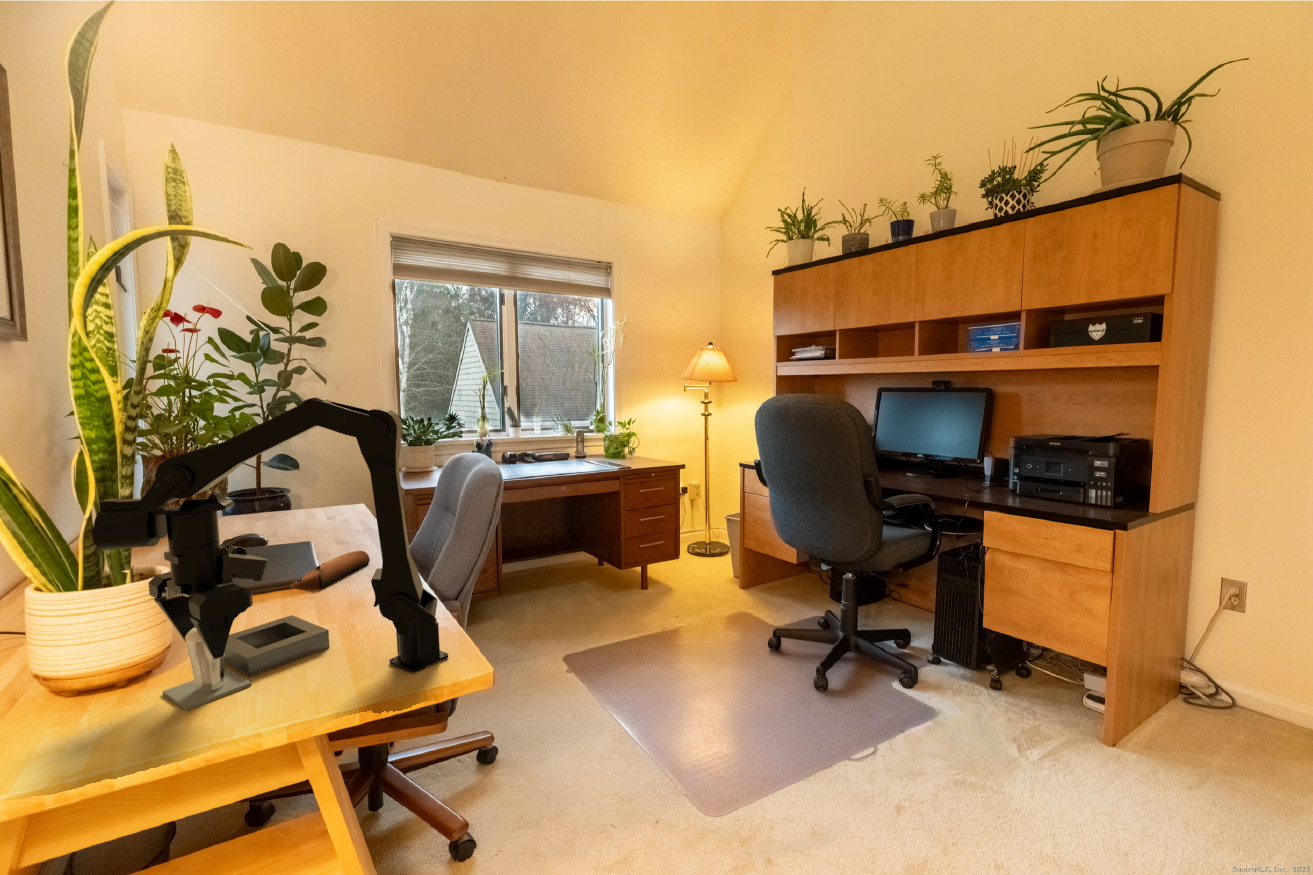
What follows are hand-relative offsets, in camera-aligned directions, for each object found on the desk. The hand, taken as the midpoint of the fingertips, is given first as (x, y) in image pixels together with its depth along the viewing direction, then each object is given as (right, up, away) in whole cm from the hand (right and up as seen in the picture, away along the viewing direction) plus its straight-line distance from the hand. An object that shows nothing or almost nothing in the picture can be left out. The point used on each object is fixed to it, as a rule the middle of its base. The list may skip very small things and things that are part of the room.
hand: (204, 649), depth 87 cm
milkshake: (+1, -6, 0) cm, 6 cm away
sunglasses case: (-9, -2, +52) cm, 53 cm away
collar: (+2, -5, +12) cm, 13 cm away
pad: (0, -6, +1) cm, 6 cm away
